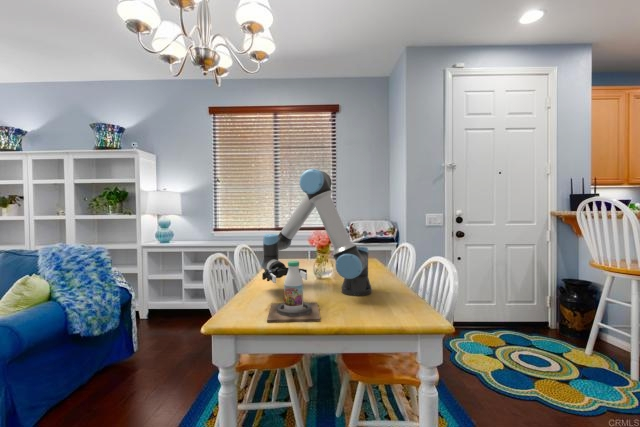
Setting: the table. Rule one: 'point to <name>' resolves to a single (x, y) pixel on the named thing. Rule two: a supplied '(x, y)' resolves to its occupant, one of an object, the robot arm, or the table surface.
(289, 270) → the milk bottle
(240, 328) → the table surface
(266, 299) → the table surface
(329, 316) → the table surface
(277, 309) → the collar stand
